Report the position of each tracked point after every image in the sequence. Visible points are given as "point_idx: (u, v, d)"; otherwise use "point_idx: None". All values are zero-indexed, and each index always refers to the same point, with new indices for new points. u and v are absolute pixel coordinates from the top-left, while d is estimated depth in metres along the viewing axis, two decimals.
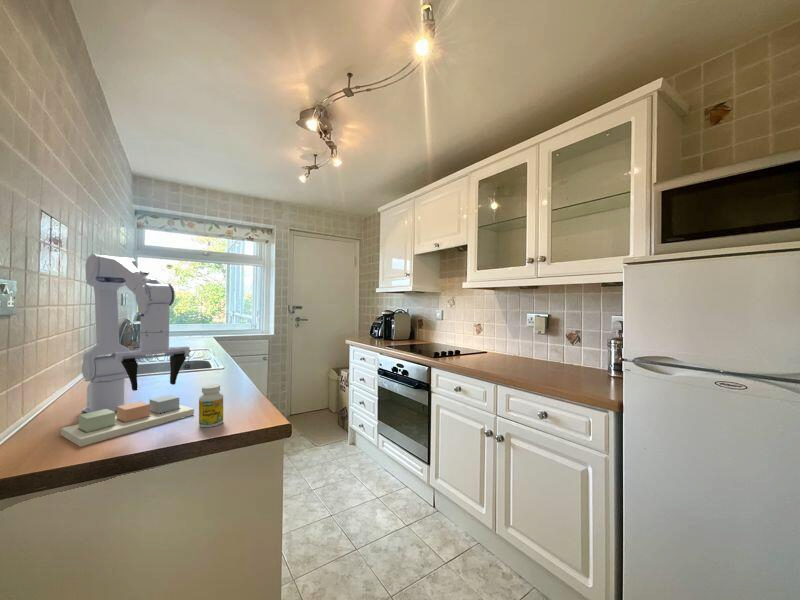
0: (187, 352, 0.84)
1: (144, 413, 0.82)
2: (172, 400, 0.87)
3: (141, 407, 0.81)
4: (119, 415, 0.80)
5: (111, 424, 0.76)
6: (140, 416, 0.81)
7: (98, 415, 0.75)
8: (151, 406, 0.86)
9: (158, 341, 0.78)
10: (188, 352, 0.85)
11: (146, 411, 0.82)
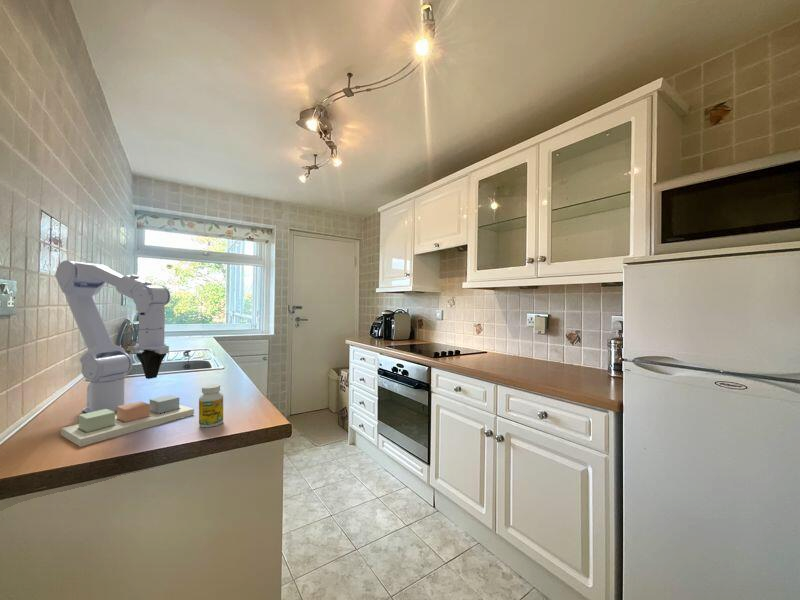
0: (159, 351, 0.85)
1: (144, 413, 0.82)
2: (172, 400, 0.87)
3: (141, 407, 0.81)
4: (119, 415, 0.80)
5: (111, 424, 0.76)
6: (140, 416, 0.81)
7: (98, 415, 0.75)
8: (151, 406, 0.86)
9: (139, 337, 0.87)
10: (159, 351, 0.85)
11: (146, 411, 0.82)
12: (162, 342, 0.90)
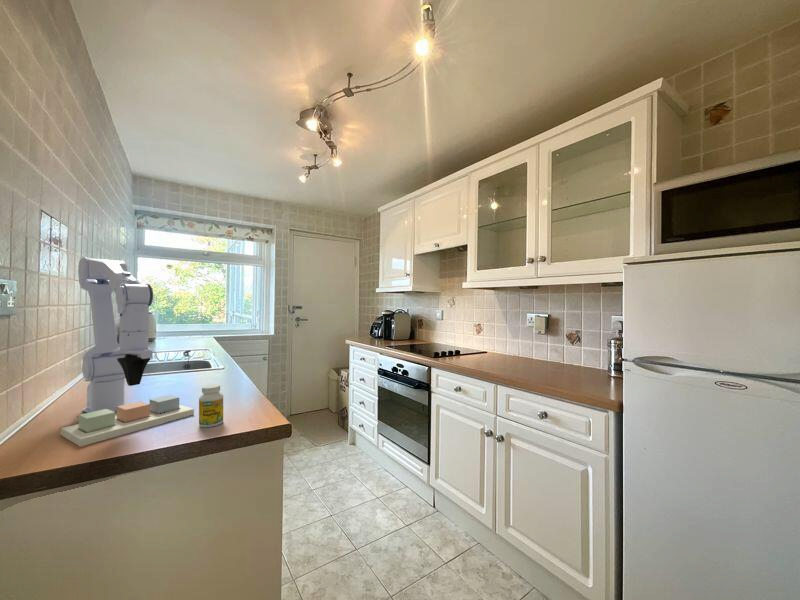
0: (141, 356, 0.78)
1: (144, 413, 0.82)
2: (172, 400, 0.87)
3: (141, 407, 0.81)
4: (119, 415, 0.80)
5: (111, 424, 0.76)
6: (140, 416, 0.81)
7: (98, 415, 0.75)
8: (151, 406, 0.86)
9: (120, 340, 0.80)
10: (142, 356, 0.78)
11: (146, 411, 0.82)
12: (146, 345, 0.82)
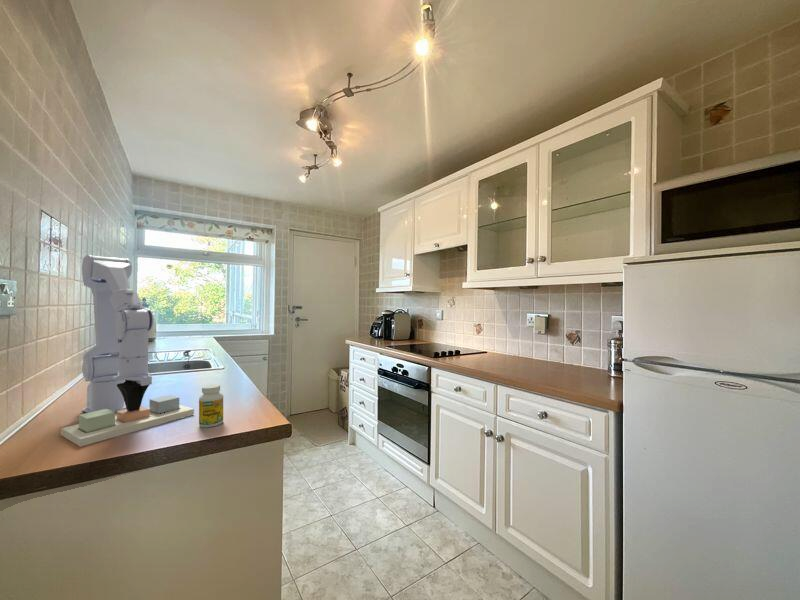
0: (141, 383, 0.78)
1: None
2: (172, 400, 0.87)
3: (141, 412, 0.81)
4: (118, 419, 0.80)
5: (111, 424, 0.76)
6: None
7: (98, 415, 0.75)
8: (151, 406, 0.86)
9: (119, 367, 0.79)
10: (141, 383, 0.78)
11: (146, 416, 0.82)
12: (145, 370, 0.82)
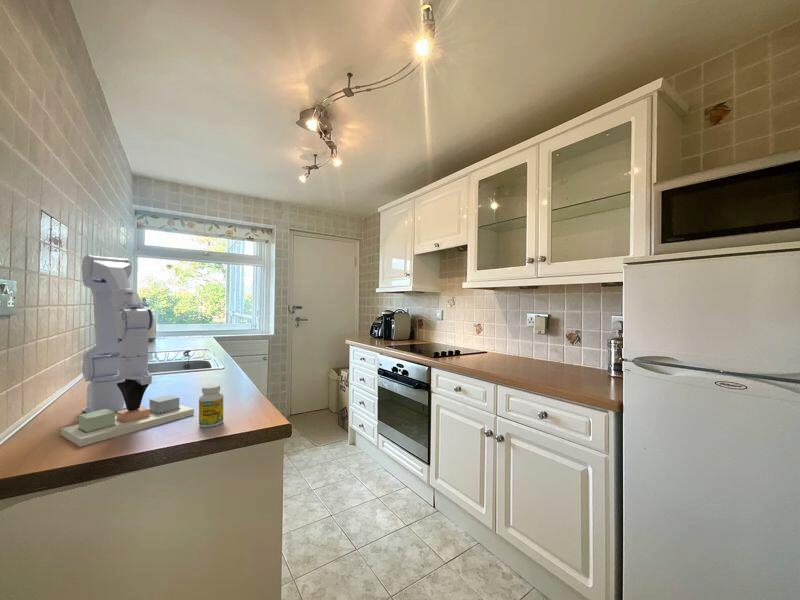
0: (141, 382, 0.78)
1: None
2: (172, 400, 0.87)
3: (141, 412, 0.81)
4: (118, 420, 0.80)
5: (111, 424, 0.76)
6: None
7: (98, 415, 0.75)
8: (151, 406, 0.86)
9: (119, 366, 0.79)
10: (141, 382, 0.78)
11: (146, 416, 0.82)
12: (145, 370, 0.82)
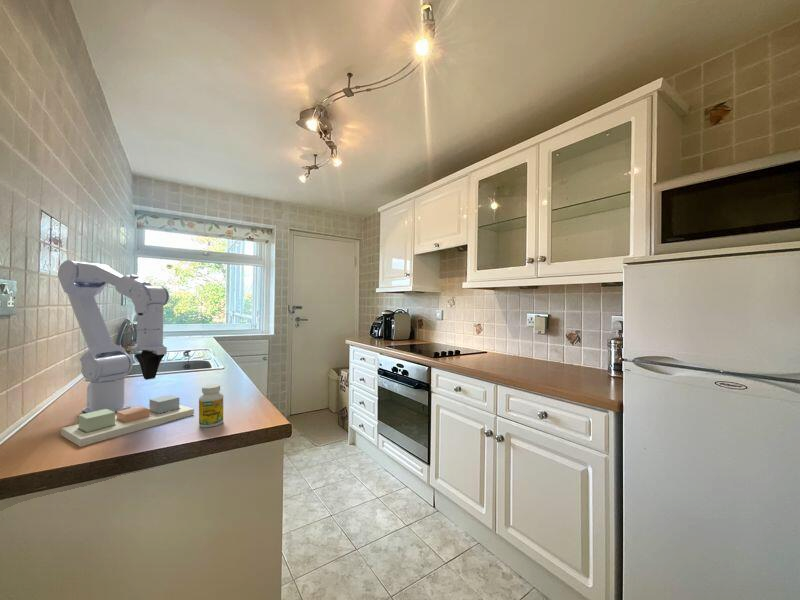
0: (157, 352, 0.84)
1: None
2: (172, 400, 0.87)
3: (141, 412, 0.81)
4: (118, 420, 0.80)
5: (111, 424, 0.76)
6: None
7: (98, 415, 0.75)
8: (151, 406, 0.86)
9: (137, 338, 0.86)
10: (157, 352, 0.84)
11: (146, 416, 0.82)
12: (160, 342, 0.89)
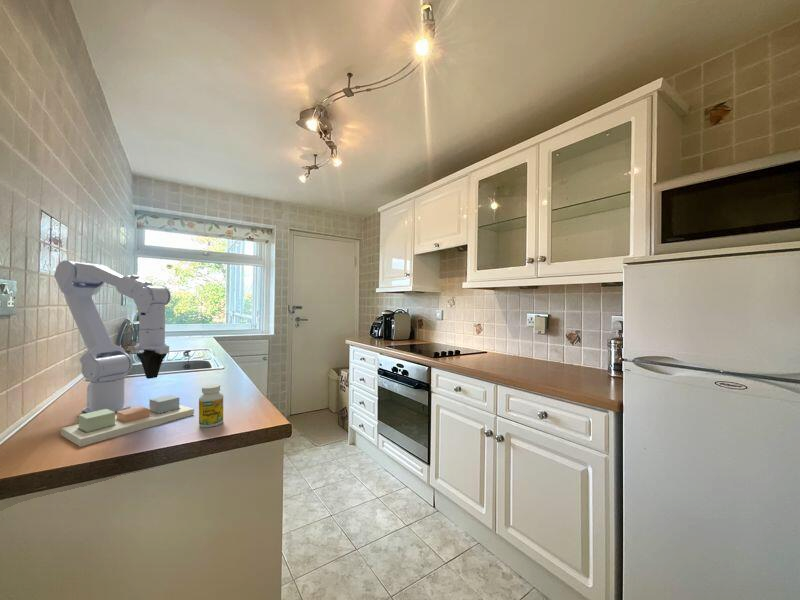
0: (159, 351, 0.85)
1: None
2: (172, 400, 0.87)
3: (141, 412, 0.81)
4: (118, 420, 0.80)
5: (111, 424, 0.76)
6: None
7: (98, 415, 0.75)
8: (151, 406, 0.86)
9: (140, 337, 0.87)
10: (160, 351, 0.85)
11: (146, 416, 0.82)
12: (162, 341, 0.90)
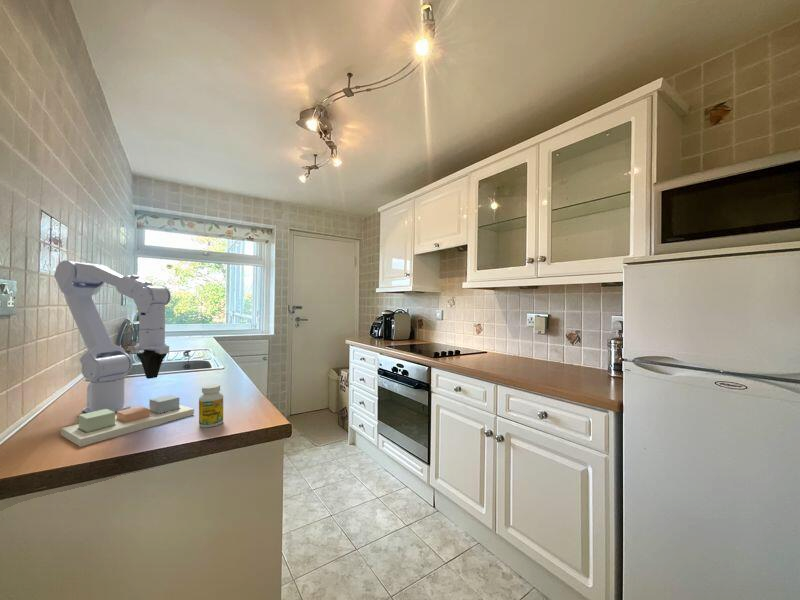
0: (159, 351, 0.85)
1: None
2: (172, 400, 0.87)
3: (141, 412, 0.81)
4: (118, 420, 0.80)
5: (111, 424, 0.76)
6: None
7: (98, 415, 0.75)
8: (151, 406, 0.86)
9: (140, 337, 0.87)
10: (160, 351, 0.85)
11: (146, 416, 0.82)
12: (162, 341, 0.90)
